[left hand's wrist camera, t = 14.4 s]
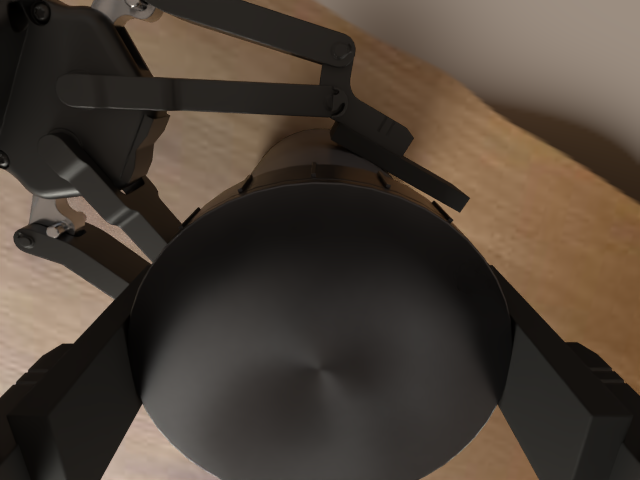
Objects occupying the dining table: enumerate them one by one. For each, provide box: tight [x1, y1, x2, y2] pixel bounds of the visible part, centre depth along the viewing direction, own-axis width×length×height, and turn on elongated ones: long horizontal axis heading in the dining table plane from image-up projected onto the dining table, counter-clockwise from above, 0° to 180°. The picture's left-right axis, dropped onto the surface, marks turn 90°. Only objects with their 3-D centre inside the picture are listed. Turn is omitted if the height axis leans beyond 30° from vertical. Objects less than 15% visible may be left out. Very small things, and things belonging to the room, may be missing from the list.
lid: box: [128, 162, 513, 480], centre depth 12 cm, size 10×10×2 cm
